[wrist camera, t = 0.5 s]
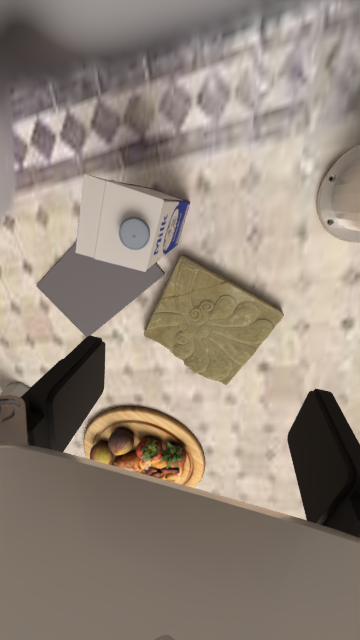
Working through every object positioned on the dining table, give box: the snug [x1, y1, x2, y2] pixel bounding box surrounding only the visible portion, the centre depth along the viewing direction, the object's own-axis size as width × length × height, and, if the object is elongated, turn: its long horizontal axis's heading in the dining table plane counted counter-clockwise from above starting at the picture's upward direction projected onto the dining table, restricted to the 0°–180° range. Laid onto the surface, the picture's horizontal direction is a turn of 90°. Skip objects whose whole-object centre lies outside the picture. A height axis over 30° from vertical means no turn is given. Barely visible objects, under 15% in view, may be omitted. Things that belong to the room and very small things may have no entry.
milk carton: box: [75, 174, 190, 272], centre depth 32 cm, size 7×7×20 cm
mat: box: [37, 243, 165, 337], centre depth 47 cm, size 22×14×1 cm, turn 130°
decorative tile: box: [144, 255, 284, 385], centre depth 46 cm, size 19×20×4 cm
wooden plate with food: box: [84, 406, 205, 488], centre depth 62 cm, size 32×32×8 cm
